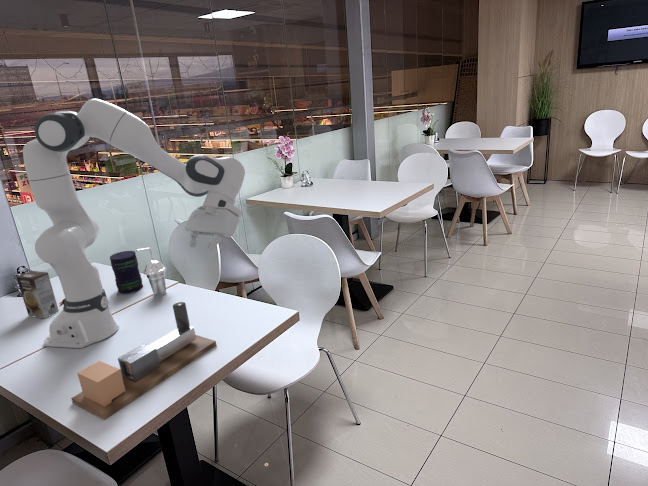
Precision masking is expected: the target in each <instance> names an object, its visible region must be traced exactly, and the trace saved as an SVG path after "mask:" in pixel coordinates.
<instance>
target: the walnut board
mask: <svg viewBox="0 0 648 486" xmlns="http://www.w3.org/2000/svg"><path fill="white" fill-rule="evenodd" d="M195 336H196V340H194V341H192V342H191V343H189V344H188V345H186V346H184V347H183V348H181V349H180V350H178V351H176V352H175V353H173V354H172V355H170V356H168V357H167V358H165V359H163V360H162V361H160V366H161V367H160V368H158V369H157V370H155V371H153V372H152V373H150V374H149V375H147V376H146V377H144V378H142V379H141V380H139V381H138V382H136V383H135V382H133V381H131V380H128V379H126V378H124V377H122V379H123V383H124V387H125V392H123V393H122V394H120V395H118V396H117V397H115V398H114V399H112V402H111V403H110V404H108V405H106V406H105V407H104V406H102V405H100V404H98V403H96V402H94V401H92V400H90V399H88V398H86V397H84V395H83V391H81V392H79V393H78V394H76V395H74V396H72V397H71V398H70V399H71V401H72V404H74V405H75V406H77V407H79V408H81V409H83V410H85V411H86V412H88V413H91V414H92V415H94V416H96V417H98V418H100V419H102V420H104V421H105V420H107V419H108V418H110V417H111V416H113V415H114V414H116V413H117V412H118V411H120V410H121V409H123V408H125V407H127V405H129V404H130V403H132V402H133V401H135V400H137V399H138V398H139V397H142V396H143V395H145V393H147V392H149V391H150V390H152V389H154V387H156V386H157V385H159V384H160V383H162V382H164V381H166V380H168V378H170V377H171V376H173V375H174V374H176V373H178V372H179V371H180V370H182V369H183V368H185V367H186V366H188V365H190V364H191V363H192V362H193V361H195V360H197V359H198V358H200V357H201V356H203V355H204V354H206V353H207V352H208V351H210V350H212V349H213V348H215V347H216V346H217V341H216V340H213V339H212V338H208V337H205V336H201V335H197V334H195ZM119 369H120V368H119ZM120 372H121V369H120ZM121 375H122V373H121Z"/></svg>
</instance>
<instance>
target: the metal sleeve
mask: <svg viewBox="0 0 648 486" xmlns="http://www.w3.org/2000/svg"><path fill="white" fill-rule="evenodd" d="M117 361H118V365H119V369H121V373H122V377H124V378H126V379H128V380H131V381H133V382H135V383H136V382H138V381H139V380H141V379H142V378H144V377H146V376H147V375H149V374H150V373H152V372H153V371H155V370H157V369H158V368H160V367H161V366H160V362H159V358H158V353H157V349H156V348H154V347H151V346H149V345H148V344H146V343H142V344H140V345H138V346H136V347H135V348H132V349H131V350H129V351H127V352H126V353H124V354H123V355H121V356H118V357H117ZM125 363H127V364H129V365H130V367H131V371H132V375H131V374H129V373H127V371H126V367H125Z"/></svg>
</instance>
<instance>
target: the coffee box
mask: <svg viewBox="0 0 648 486" xmlns="http://www.w3.org/2000/svg"><path fill="white" fill-rule="evenodd" d="M15 278H16V281H17V284H18V287H19V290H20V292H21V297H22V299H23V303H24V306H25V309H26V312H27V314H28V315H27V316H28V317H32V316H35V317H34V318H38V317H42V318H41V319H44V318H45V317H47V316H49V315H51V316H53V315H54V313H55V314H57V313H59V312H60V311H59V306H58V303H57V299H56V296H55V292H54V289H53V285H52V282H51V278H50V276H49V272H45V271H36V270H31V271H28V272H25V273H22V274H20V275H19V274H18V275H17V276H16V277H15ZM58 311H59V312H58ZM56 312H57V313H56ZM52 314H53V315H52ZM49 317H50V316H49ZM47 318H48V317H47ZM45 319H46V318H45Z"/></svg>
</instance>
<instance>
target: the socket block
mask: <svg viewBox="0 0 648 486" xmlns="http://www.w3.org/2000/svg"><path fill="white" fill-rule="evenodd" d="M76 374H77V378H78V381H79V384H80V387H81V392H83V395H84V397H86V398H88V399H90V400H92V401H94V402H96V403H98V404H100V405H102V406H104V407H105V406H106V405H108V404H110V403H111V402H112V399H114V398H115V397H117V396H118V395H120V394H122V393H123V392H125V387H124V383H123V379H122V375H121V372H120V368H118V367H116V366H113V365H111V364H108V363H106V362H104V361H101V360H98V361H96V362H94V363H93V364H92V363H91V365H89V366H87V367H85V368H84V369H81V370H80V371H78V372H77V373H76Z"/></svg>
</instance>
